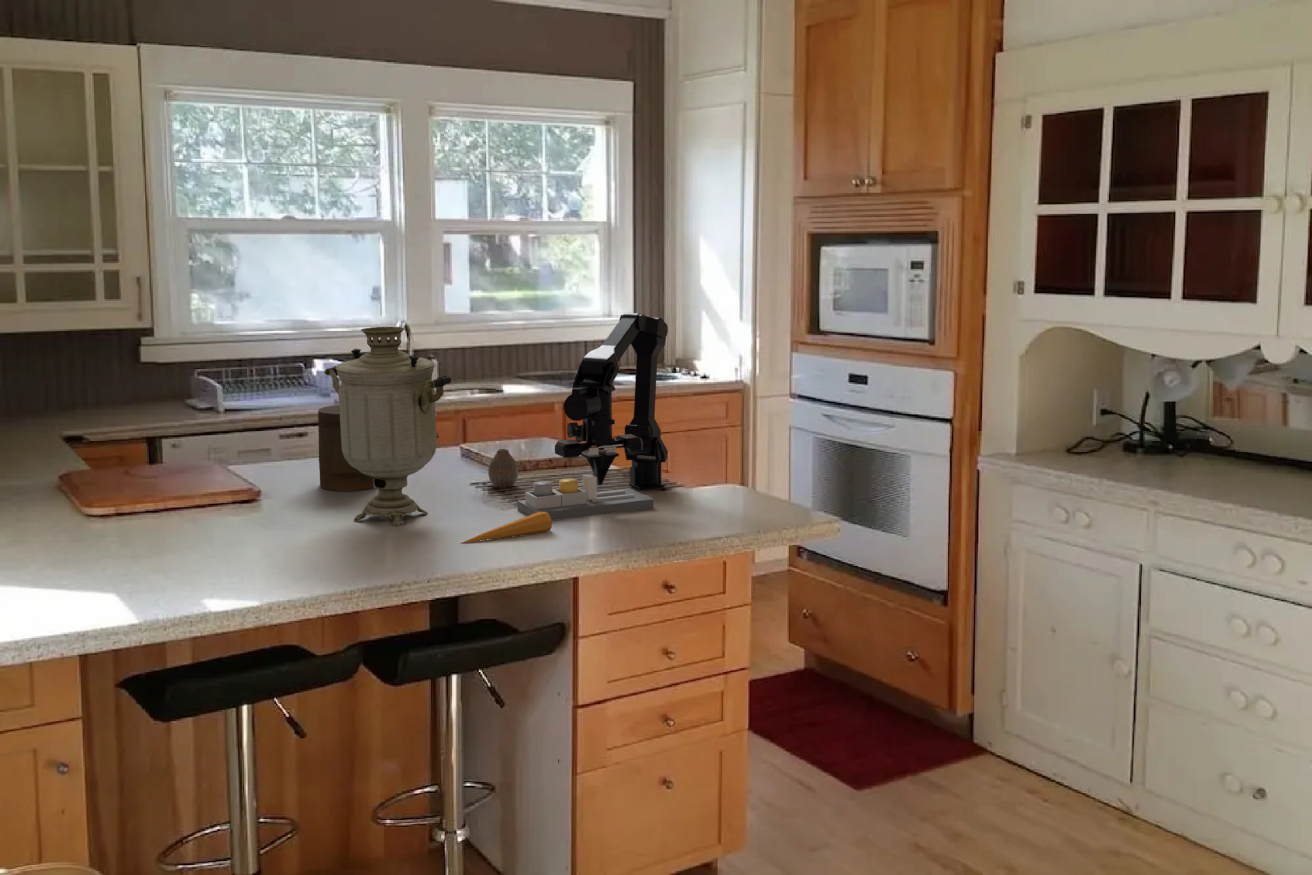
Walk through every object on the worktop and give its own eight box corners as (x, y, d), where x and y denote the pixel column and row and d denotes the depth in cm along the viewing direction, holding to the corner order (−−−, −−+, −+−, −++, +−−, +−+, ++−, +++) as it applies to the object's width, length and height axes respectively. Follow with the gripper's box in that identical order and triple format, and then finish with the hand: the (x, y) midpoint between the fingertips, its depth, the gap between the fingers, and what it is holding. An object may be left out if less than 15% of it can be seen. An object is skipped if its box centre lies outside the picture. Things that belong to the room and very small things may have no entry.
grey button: (548, 494, 270) (547, 480, 269) (555, 497, 266) (555, 484, 266) (530, 496, 268) (530, 482, 267) (537, 499, 264) (537, 486, 264)
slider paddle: (590, 496, 274) (590, 474, 273) (596, 499, 271) (596, 476, 271) (582, 497, 273) (582, 475, 272) (588, 500, 271) (588, 477, 270)
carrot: (548, 532, 256) (543, 511, 256) (557, 529, 252) (551, 507, 252) (458, 556, 246) (452, 534, 246) (466, 553, 242) (460, 530, 242)
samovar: (496, 516, 265) (492, 328, 258) (393, 540, 247) (385, 337, 239) (412, 494, 285) (406, 318, 278) (310, 514, 267) (301, 326, 259)
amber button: (573, 491, 272) (573, 477, 272) (581, 495, 269) (581, 481, 268) (556, 493, 271) (556, 479, 270) (564, 497, 267) (563, 483, 267)
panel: (629, 496, 284) (629, 477, 283) (653, 508, 273) (653, 487, 272) (517, 509, 271) (517, 489, 271) (538, 521, 261) (538, 500, 260)
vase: (521, 483, 297) (520, 447, 295) (514, 490, 290) (514, 452, 289) (492, 482, 298) (491, 446, 296) (485, 489, 291) (484, 452, 289)
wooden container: (397, 482, 298) (394, 391, 294) (351, 494, 285) (347, 399, 281) (353, 475, 305) (349, 386, 301) (306, 486, 293) (301, 393, 289)
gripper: (620, 405, 281) (621, 473, 284) (544, 411, 273) (545, 482, 275) (643, 412, 272) (643, 482, 274) (564, 419, 263) (565, 492, 266)
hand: (599, 484), depth 273 cm, fingers closed
